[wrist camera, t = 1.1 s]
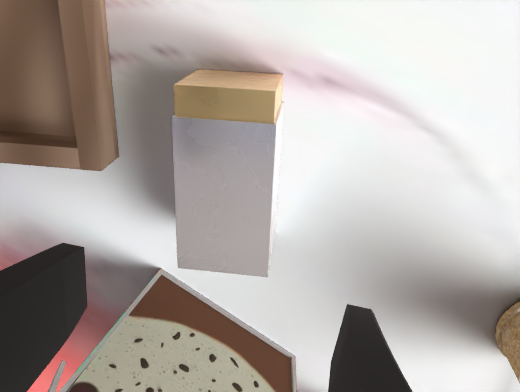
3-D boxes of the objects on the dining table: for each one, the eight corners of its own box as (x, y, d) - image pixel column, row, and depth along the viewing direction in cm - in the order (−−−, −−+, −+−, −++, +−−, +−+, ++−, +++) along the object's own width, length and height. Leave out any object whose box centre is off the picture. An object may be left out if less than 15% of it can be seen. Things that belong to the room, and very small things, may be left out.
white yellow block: (199, 225, 24) (177, 267, 20) (197, 68, 20) (170, 84, 17) (275, 232, 23) (267, 277, 20) (285, 74, 20) (278, 91, 16)
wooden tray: (-32, 144, 23) (-62, 157, 21) (-107, -172, 18) (-155, -191, 16) (118, 156, 22) (101, 170, 21) (87, -170, 17) (60, -190, 15)
